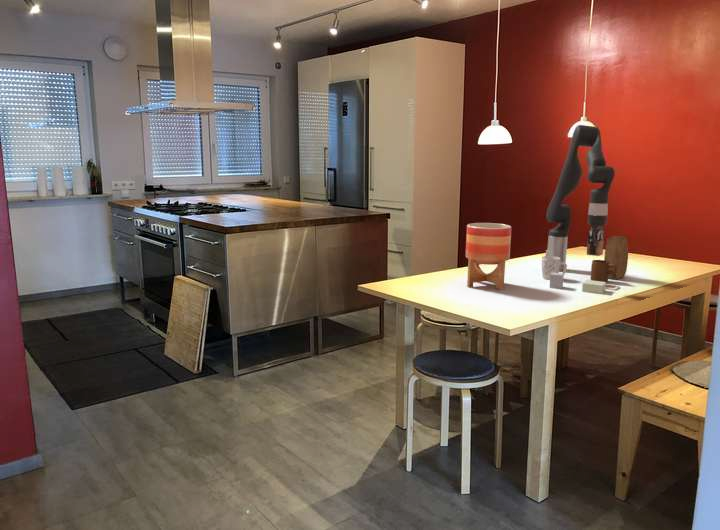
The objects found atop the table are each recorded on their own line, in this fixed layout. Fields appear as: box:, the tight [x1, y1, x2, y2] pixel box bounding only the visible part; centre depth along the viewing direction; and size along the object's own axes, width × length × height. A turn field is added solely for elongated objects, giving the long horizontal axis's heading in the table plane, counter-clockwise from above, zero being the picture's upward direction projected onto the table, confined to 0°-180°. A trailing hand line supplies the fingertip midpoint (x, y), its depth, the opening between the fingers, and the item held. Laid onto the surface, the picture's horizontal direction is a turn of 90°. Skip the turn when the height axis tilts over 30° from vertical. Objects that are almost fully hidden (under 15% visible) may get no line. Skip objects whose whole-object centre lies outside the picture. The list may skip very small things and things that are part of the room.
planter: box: [465, 222, 512, 291], centre depth 256 cm, size 20×20×27 cm
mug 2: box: [590, 259, 618, 283], centre depth 267 cm, size 12×8×9 cm, turn 39°
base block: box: [581, 279, 607, 295], centre depth 249 cm, size 8×8×4 cm
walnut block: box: [586, 240, 605, 257], centre depth 246 cm, size 5×5×6 cm
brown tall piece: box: [603, 235, 629, 280], centre depth 275 cm, size 11×8×20 cm
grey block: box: [549, 272, 565, 290], centre depth 255 cm, size 5×5×6 cm
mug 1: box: [541, 255, 568, 281], centre depth 272 cm, size 11×8×10 cm
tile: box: [605, 283, 621, 291], centre depth 256 cm, size 7×7×1 cm
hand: (594, 253), depth 247 cm, fingers closed on walnut block, 5 cm apart
